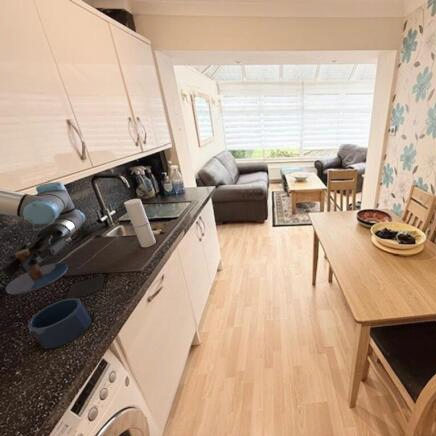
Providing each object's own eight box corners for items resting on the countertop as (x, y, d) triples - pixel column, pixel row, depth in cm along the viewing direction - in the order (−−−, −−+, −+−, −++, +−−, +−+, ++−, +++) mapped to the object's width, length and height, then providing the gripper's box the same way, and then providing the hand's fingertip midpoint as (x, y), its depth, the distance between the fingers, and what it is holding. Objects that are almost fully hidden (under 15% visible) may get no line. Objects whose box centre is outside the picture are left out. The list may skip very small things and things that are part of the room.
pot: (36, 357, 71) (20, 337, 67) (48, 327, 81) (35, 309, 77) (88, 336, 76) (76, 316, 73) (94, 310, 86) (83, 293, 83)
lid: (-2, 303, 64) (-26, 272, 60) (18, 276, 75) (-1, 249, 70) (63, 283, 70) (45, 254, 66) (72, 261, 81) (58, 235, 76)
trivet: (65, 303, 91) (64, 302, 91) (71, 285, 100) (70, 284, 100) (102, 290, 96) (102, 289, 96) (105, 274, 106) (105, 273, 105)
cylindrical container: (139, 249, 124) (121, 205, 113) (144, 242, 130) (127, 199, 120) (153, 246, 125) (137, 202, 114) (157, 240, 132) (142, 198, 121)
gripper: (87, 237, 89) (57, 273, 69) (34, 247, 84) (-15, 290, 64) (78, 219, 85) (44, 251, 65) (22, 228, 81) (-33, 267, 61)
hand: (15, 270), depth 65 cm, fingers closed on lid, 3 cm apart
